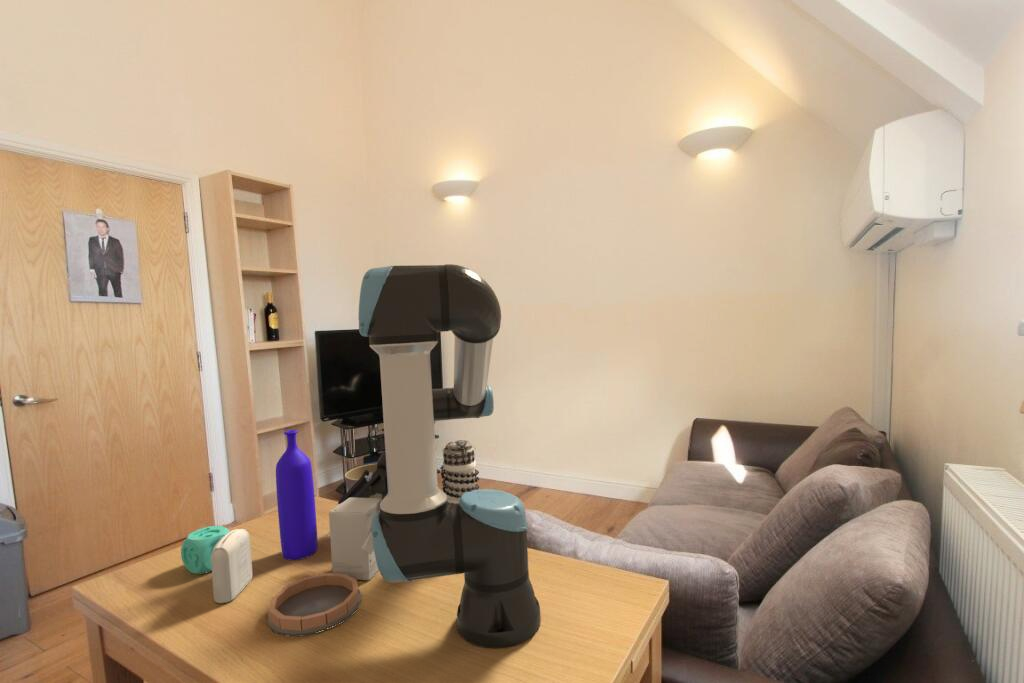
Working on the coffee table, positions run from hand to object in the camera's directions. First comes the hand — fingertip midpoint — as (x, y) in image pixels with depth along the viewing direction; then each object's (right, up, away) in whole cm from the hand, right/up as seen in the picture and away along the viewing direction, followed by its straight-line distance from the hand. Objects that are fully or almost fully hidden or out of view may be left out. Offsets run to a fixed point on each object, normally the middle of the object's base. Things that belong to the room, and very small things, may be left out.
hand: (348, 545), depth 111 cm
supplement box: (+2, -7, +3) cm, 8 cm away
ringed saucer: (-3, -8, -12) cm, 14 cm away
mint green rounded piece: (-35, -8, +8) cm, 37 cm away
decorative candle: (+24, -5, +13) cm, 28 cm away
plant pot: (0, -6, +24) cm, 24 cm away
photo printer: (-23, -8, -4) cm, 25 cm away
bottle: (-16, -7, +13) cm, 21 cm away
